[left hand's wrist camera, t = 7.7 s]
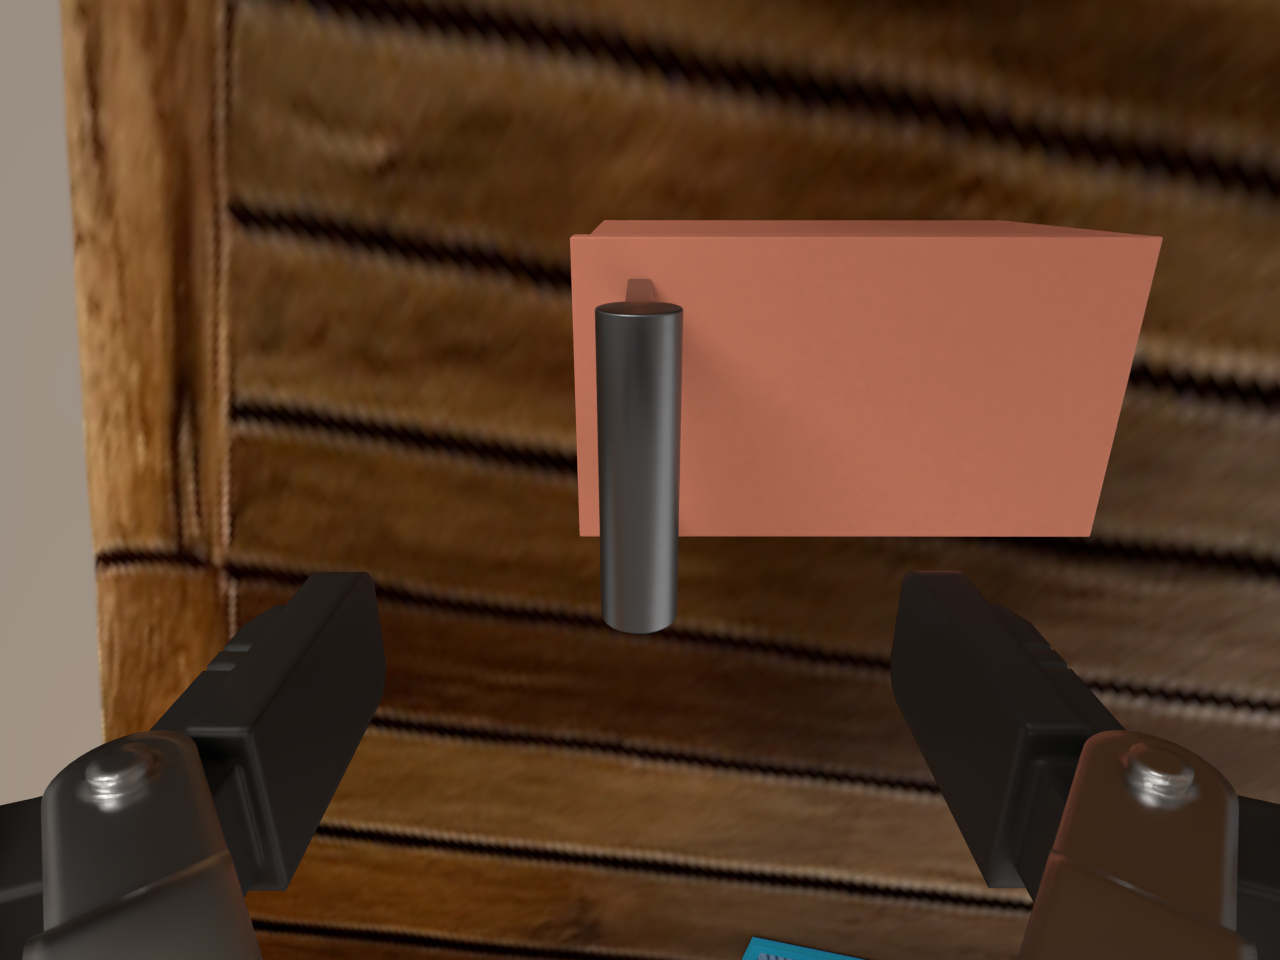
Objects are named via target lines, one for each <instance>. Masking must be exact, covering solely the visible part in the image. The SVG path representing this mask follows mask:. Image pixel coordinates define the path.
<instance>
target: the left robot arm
mask: <svg viewBox="0 0 1280 960" xmlns="http://www.w3.org/2000/svg"><path fill="white" fill-rule="evenodd" d="M224 648H225V649H224V652H219V654H218V655H217V656H216V657H215V658H214V659H213V660H212V661H211V662H210V664H209V665H208V666H207V667H208V668H207V671H202V673H201V674H200V675H199V676H198V677H197V678H196V679H195V680H194V681H193V683H192V684H191V685H190V686H189V687H188V688H187V689H186V690H185V692H184V693H183V694H182V695H181V696H180V697H179V698H178V699H177V700H176V702H175V703H174V704H173V705H172V706H171V707H170V708H169V709H168V710H167V712H166V713H165V714H164V715H163V716H162V717H161V718H160V719H159V721H158V722H157V723H156V724H155V725H154V726H153V727H152V728H151V729H150V731H147V732H140V733H136V734H131V735H128V736H124V737H121V738H118V739H115V740H113V741H110V742H108V743H105V744H103V745H101V746H99V747H97V748H95V749H92V750H91V751H89V752H87V753H85V754H84V755H82V756H80V757H79V758H77V759H76V760H75V761H73V762H72V763H70V764H69V765H68V766H67V767H65V768H64V769H63V770H62V771H61V772H60V773H59V774H58V775H57V776H56V777H55V778H54V779H53V780H52V781H51V783H50V784H49V786H48V787H47V788H46V790H45V792H44V795H43V796H41V797H37V798H33V799H28V800H23V801H19V802H14V803H10V804H5V805H1V806H0V960H263V959H262V956H261V952H260V949H259V946H258V942H257V939H256V936H255V933H254V929H253V926H252V923H251V919H250V916H249V913H248V909H247V906H246V903H245V900H244V897H245V895H246V893H247V892H248V891H286V889H287V887H288V885H289V883H290V881H291V879H292V877H293V875H294V873H295V871H296V869H297V867H298V865H299V863H300V861H301V859H302V857H303V855H304V853H305V851H306V849H307V847H308V845H309V843H310V841H311V839H312V837H313V835H314V833H315V831H316V829H317V827H318V825H319V823H320V821H321V819H322V817H323V815H324V813H325V811H326V809H327V807H328V805H329V803H330V801H331V799H332V797H333V795H334V793H335V791H336V789H337V787H338V785H339V783H340V781H341V779H342V777H343V775H344V773H345V771H346V769H347V767H348V765H349V763H350V761H351V759H352V757H353V755H354V753H355V751H356V749H357V747H358V745H359V743H360V741H361V739H362V737H363V735H364V733H365V731H366V729H367V727H368V725H369V723H370V721H371V719H372V717H373V715H374V713H375V711H376V709H377V707H378V705H379V703H380V701H381V698H382V694H383V690H384V685H385V675H386V662H385V654H384V648H383V641H382V634H381V627H380V621H379V614H378V607H377V600H376V594H375V588H374V583H373V580H372V578H371V576H370V575H369V574H368V573H367V572H315V573H313V574H312V575H311V576H310V577H309V578H308V579H307V581H306V582H305V583H304V584H303V585H302V587H301V588H300V589H299V590H298V591H297V593H296V594H295V595H294V596H293V597H292V599H291V600H290V601H289V602H288V603H287V604H286V605H275V606H274V607H272V608H270V609H269V610H267V611H266V612H264V613H262V614H261V615H259V616H257V617H256V618H254V619H253V620H251V621H249V622H248V623H246V624H245V625H244V626H243V627H242V628H241V629H240V630H239V631H238V632H237V633H236V635H235V636H234V637H233V638H232V639H231V640H230V641H229V642H228V644H227V645H226V646H225V647H224ZM890 670H891V682H892V688H893V692H894V696H895V699H896V701H897V704H898V706H899V708H900V710H901V712H902V714H903V716H904V718H905V720H906V722H907V724H908V726H909V728H910V730H911V732H912V734H913V736H914V738H915V740H916V742H917V744H918V746H919V748H920V750H921V752H922V754H923V756H924V758H925V760H926V762H927V764H928V766H929V768H930V770H931V772H932V774H933V776H934V778H935V780H936V782H937V784H938V786H939V788H940V790H941V792H942V794H943V797H944V799H945V801H946V803H947V805H948V807H949V809H950V811H951V813H952V815H953V817H954V819H955V821H956V823H957V825H958V827H959V829H960V831H961V833H962V835H963V837H964V839H965V841H966V843H967V845H968V847H969V849H970V851H971V853H972V855H973V857H974V859H975V861H976V863H977V865H978V867H979V869H980V871H981V873H982V875H983V877H984V879H985V881H986V883H987V885H988V887H989V888H1026V889H1027V891H1028V893H1029V895H1030V896H1031V898H1032V900H1033V902H1034V906H1033V909H1032V913H1031V916H1030V919H1029V923H1028V926H1027V929H1026V933H1025V936H1024V939H1023V942H1022V946H1021V949H1020V952H1019V956H1018V959H1017V960H1280V804H1276V803H1271V802H1267V801H1262V800H1257V799H1253V798H1248V797H1244V796H1239V795H1236V792H1235V790H1234V788H1233V787H1232V786H1231V784H1230V783H1229V781H1228V780H1227V779H1226V778H1225V777H1224V776H1223V775H1222V774H1221V773H1220V772H1219V771H1218V770H1217V769H1216V768H1215V767H1213V766H1212V765H1211V764H1210V763H1208V762H1207V761H1205V760H1204V759H1203V758H1201V757H1200V756H1198V755H1196V754H1195V753H1193V752H1191V751H1189V750H1188V749H1185V748H1183V747H1181V746H1179V745H1177V744H1175V743H1172V742H1170V741H1167V740H1165V739H1162V738H1159V737H1156V736H1152V735H1149V734H1144V733H1140V732H1133V731H1126V730H1125V729H1124V728H1123V727H1122V725H1121V724H1120V723H1119V722H1118V721H1117V720H1116V719H1115V718H1114V716H1113V715H1112V714H1111V713H1110V712H1109V711H1108V710H1107V709H1106V707H1105V706H1104V705H1103V704H1102V703H1101V702H1100V701H1099V700H1098V698H1097V697H1096V696H1095V695H1094V694H1093V693H1092V692H1091V690H1090V689H1089V688H1088V687H1087V686H1086V685H1085V684H1084V683H1083V681H1082V680H1081V679H1080V678H1079V677H1078V676H1077V675H1076V674H1075V672H1074V671H1073V670H1072V669H1068V668H1067V663H1066V662H1065V661H1064V660H1063V659H1062V658H1061V657H1060V656H1059V654H1058V653H1057V652H1056V651H1055V650H1051V648H1050V644H1049V643H1048V642H1047V641H1046V640H1045V639H1044V638H1043V636H1042V635H1041V634H1040V633H1039V632H1038V631H1037V630H1036V629H1035V627H1034V626H1033V625H1032V624H1031V623H1030V622H1028V621H1027V620H1025V619H1023V618H1022V617H1020V616H1019V615H1017V614H1015V613H1014V612H1012V611H1010V610H1009V609H1007V608H1006V607H1004V606H1002V605H1001V604H989V603H988V602H987V600H986V599H985V598H984V597H983V596H982V594H981V593H980V592H979V591H978V590H977V588H976V587H975V586H974V585H973V584H972V582H971V581H970V580H969V579H968V578H967V576H966V575H965V574H964V573H963V572H961V571H908V572H907V573H906V575H905V576H904V579H903V582H902V586H901V593H900V599H899V606H898V613H897V620H896V627H895V634H894V640H893V647H892V654H891V665H890Z"/></svg>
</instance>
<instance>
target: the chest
mask: <svg viewBox="0 0 1280 960" xmlns="http://www.w3.org/2000/svg"><path fill="white" fill-rule="evenodd" d="M590 235H1134V234H1127V233H1117V232H1108V231H1098V230H1088V229H1079V228H1069V227H1060V226H1050V225H1040V224H1031V223H1021V222H1011V221H1002V220H604V221H603V222H602V223H601V224H600V225H599V226H598V227H597V228H596V229H595V230H594V231H593V232H592V233H591V234H590Z"/></svg>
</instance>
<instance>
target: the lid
mask: <svg viewBox="0 0 1280 960" xmlns="http://www.w3.org/2000/svg"><path fill="white" fill-rule="evenodd" d="M1162 239H1163V238H1162V237H1157V236H1148V235H573V236H572V237H571V238H570V248H571V279H572V309H573V340H574V370H575V401H576V431H577V462H578V493H579V523H580V536H600V570H601V614H602V617H603V619H604V621H605V622H606V623H607V624H608V625H609V626H610V627H612V628H614V629H616V630H619V631H622V632H626V633H633V634H646V633H652V632H656V631H660V630H662V629H664V628H666V627H668V626H669V625H671V624H672V623H673V621H674V620H675V618H676V616H677V589H678V542H679V536H936V537H1089V536H1090V533H1091V529H1092V525H1093V521H1094V517H1095V513H1096V509H1097V505H1098V501H1099V497H1100V493H1101V489H1102V484H1103V480H1104V476H1105V472H1106V468H1107V464H1108V460H1109V456H1110V452H1111V448H1112V444H1113V440H1114V435H1115V431H1116V427H1117V423H1118V419H1119V415H1120V411H1121V407H1122V403H1123V399H1124V395H1125V391H1126V386H1127V382H1128V378H1129V374H1130V370H1131V366H1132V362H1133V358H1134V354H1135V350H1136V346H1137V342H1138V337H1139V333H1140V329H1141V325H1142V321H1143V317H1144V313H1145V309H1146V305H1147V301H1148V297H1149V293H1150V288H1151V284H1152V280H1153V276H1154V272H1155V268H1156V264H1157V260H1158V256H1159V252H1160V248H1161V244H1162Z"/></svg>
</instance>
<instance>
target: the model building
mask: <svg viewBox="0 0 1280 960" xmlns="http://www.w3.org/2000/svg"><path fill="white" fill-rule="evenodd" d="M742 960H864V959H859V958H854V957H849V956H845V955H840V954H835V953H830V952H825V951H820V950H815V949H810V948H805V947H801V946H796V945H791V944H786V943H781V942H776V941H771V940H766V939H761V938H757V937H753V938H752V940H751V942H750V944H749V946H748V948H747V950H746V952H745V954H744V956H743V958H742Z"/></svg>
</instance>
